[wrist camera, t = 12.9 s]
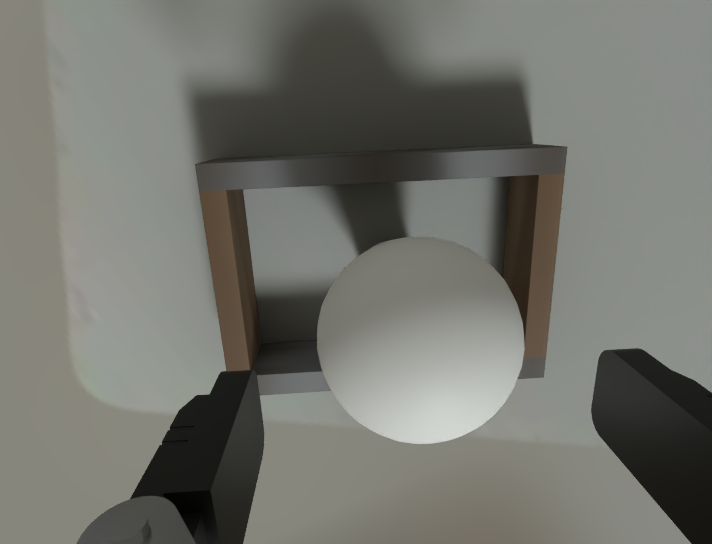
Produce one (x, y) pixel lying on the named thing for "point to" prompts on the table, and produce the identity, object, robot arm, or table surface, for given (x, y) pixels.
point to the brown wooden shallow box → (520, 162)
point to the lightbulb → (420, 340)
